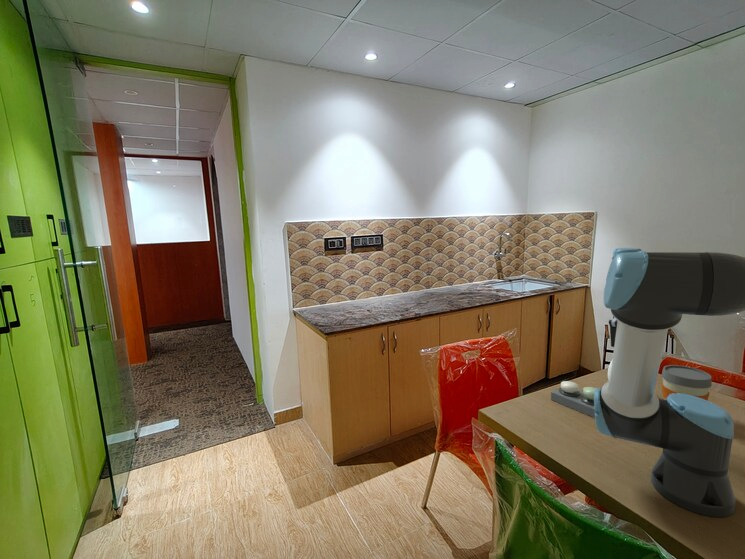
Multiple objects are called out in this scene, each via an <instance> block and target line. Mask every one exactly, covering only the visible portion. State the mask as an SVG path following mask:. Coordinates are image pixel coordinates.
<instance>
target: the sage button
mask: <svg viewBox="0 0 745 559" xmlns="http://www.w3.org/2000/svg"><path fill="white" fill-rule="evenodd" d="M596 388H597V387H592V386H585V387H583V388H582V389H583V390H582V391H583V395H584V396H585V397H587V398H589V399H593V400H594V391H595V389H596Z"/></svg>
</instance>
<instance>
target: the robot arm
mask: <svg viewBox="0 0 745 559" xmlns="http://www.w3.org/2000/svg"><path fill="white" fill-rule="evenodd" d="M612 251H613V252H612V253H613V254H612V258H611V262H610V265H609V267H608V270H607V275H606V278H605V285H604V288H603V289H604V290H603V305H604V307H605V308H606V309H609V310H610V312H611V315H612V319H609V320H608V325H609V332H610V333H609V334H610V335H609V336H610V346H611V347H612V348H613V355H612V359H613V360H611V361H612V368H611V376H610V381H609V380H607V381H606V382H605V383H604V384H603V386H602V387H595V388H596V389H595V391H594V409H595V418H594V420H595V421H594V422H595V426H596V430H597V431H598V432H599V433H600V434H601V435H605V436H609V437H611V438H613V439H620V440H623V441H629V442H633V443H638V444H642V445H647V446H650V447H656V448H659V449H662V453H661V454H660V455H659V457H658V459H657V461H656V462H655V463H654V465H653V467H652V469H651V471H650V472H651V473H650V482H651V483H652V485H653V487H654V489H655V490H656V491H657V492H658V493H659V494H660V495H662V496H663V497H665V499H667V500H668V501H670V502H672V503H674V505H677V506H679V507H680V508H682V509H685V510H688V511H690V512H692V513H696V514H699V515H703V516H707V517H714V518H724V517H729V516H731V515H733V514H734V512H735V508H736V496H735V494H734V490H733V487H732V484H731V480H730V476H729V467H730V459H731V453H732V445H733V444H732V443H733V439H734V437H735V433H734V427H735V424H734V419H733V417H732V415H731V414H729V412H728V411H727V410H725V409H724V408H723V407H721V406H719V405H718V404H715V403H714V402H711V401H710V400H709V401H708V400H704V399H702V398H699V397H695V396H692V395H688V394H682V393H677V394H675V393H672V394H670V395H669V396H668V397H667V400H664V398H663V399H662V398H658V396H657V394H656V393H655V389H656V384H657V380H658V375H659V371H660V366H661V362H662V359H663V358H662V357H663V353H664V350H665V345H666V341H667V336H668V331H669V330H671V329H673V328H674V327H676V326H678V325H679V324H680V322H681V321H682V317H683V315H693V316H709V317H713V316H714V317H715V316H716V317H720V316H728V315H730V316H731V315H735V314H739V313H742V312H745V256H741V255H737V254H733V253H725V252H715V251H714V252H712V251H711V252H708V251H707V252H706V251H705V252H693V251H692V252H690V251H686V252H684V251H682V252H680V251H679V252H678V251H677V252H675V251H674V252H672V251H671V252H668V251H667V252H660V251H659V252H658V251H657V252H656V251H655V252H653V251H651V252H647V251H644V250H643V249H641V248H637V247H617V248H615V249H614V250H612Z"/></svg>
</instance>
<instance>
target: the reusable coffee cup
mask: <svg viewBox="0 0 745 559" xmlns="http://www.w3.org/2000/svg"><path fill="white" fill-rule="evenodd" d="M661 377H662V382H661V389H662V390H661V394H662V398H663V399H664V400H667V397H668V396H669V395H670V394H672V393H675V394H677V393H682V394H688V395H692V396H695V397H699V398H702V399H704V400H707V401H708V400H709V396H710V391H709V390H710V388H711V387H712V383H713V382H712V375H711V374H710V373H709V372H706V371H704V370H702V369H699V368H696V367H691V366H686V365H679V364H678V365H677V364H669V365H667V364H666V365H665V366H663V368H662V372H661Z"/></svg>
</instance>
